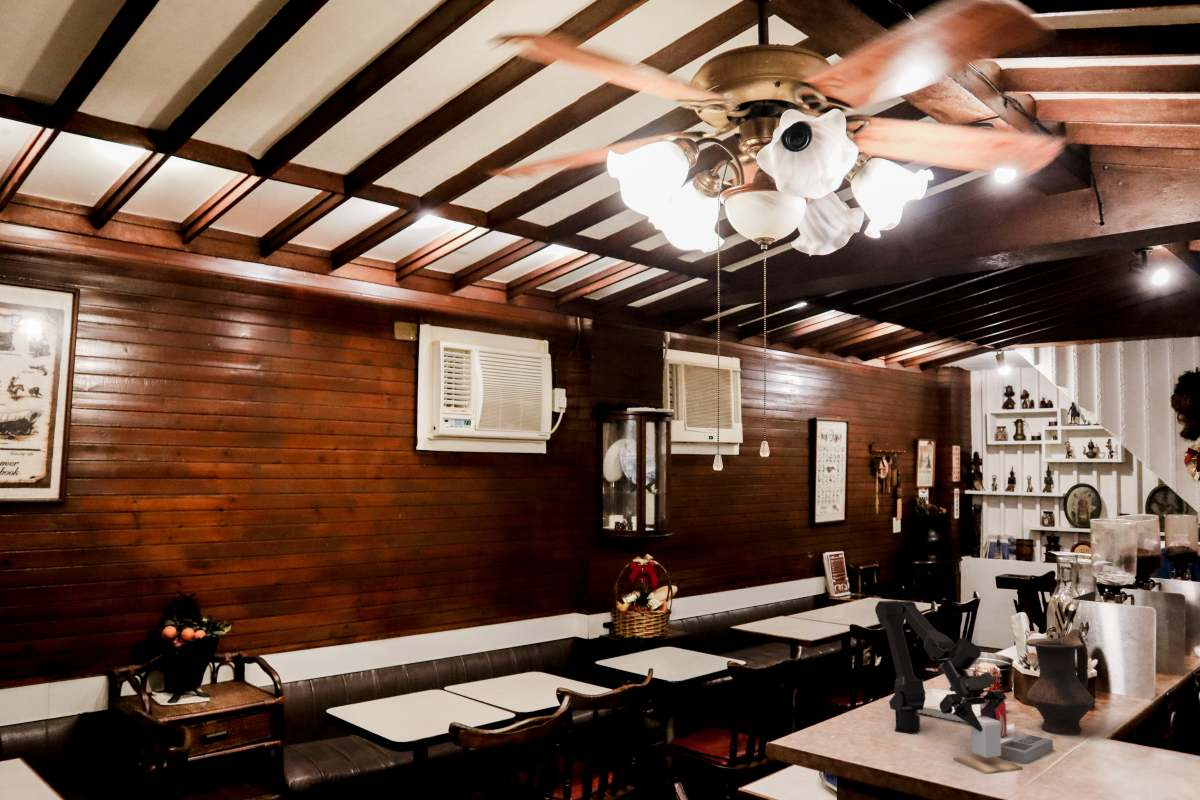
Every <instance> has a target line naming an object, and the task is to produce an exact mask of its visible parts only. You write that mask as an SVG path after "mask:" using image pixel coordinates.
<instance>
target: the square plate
mask: <svg viewBox="0 0 1200 800" xmlns="http://www.w3.org/2000/svg"><path fill="white" fill-rule="evenodd" d="M924 690H925V692H926V694H925V702H924V706H938V707H936V708H940V702H941V701H942V700H943V699H944V698H945V696H946V695H947V694H956V693H955V691H951V690H945V689H939V688H928V689H924ZM931 704H932V705H931ZM934 704H935V705H934ZM1005 704H1006V705H1009V702H1007V701H1005ZM952 709H953V710H952V713H948V714H943V713H942V711H941V709H935V708H929V707H923V710H918V714H920V713H923V714H922V715H924V714H929V715H934V716H938V717H937V718H939V717H942V718H941V719H943V718H946V719H945V720H948V719H951V720H950V721H953V720H955V721H954V722H958V721H961V722H960V723H967V722H966V721H964V720H963V719H961V718H960V717H958V716H954V715H953V713H954V712H955V710H954V707H952ZM972 710H973V712H974V714H975V716H976V717H981V712H980V705H979V704H976V705H972ZM929 715H928V716H929ZM934 716H933V717H934ZM967 724H968V723H967Z"/></svg>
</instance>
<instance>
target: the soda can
mask: <svg viewBox="0 0 1200 800" xmlns="http://www.w3.org/2000/svg"><path fill="white" fill-rule="evenodd" d="M988 692H989V691H984V693H983V694H981V696H985V695H986V694H987V693H988ZM1005 702H1006V699H1005V700H1004V701H1003V702H1002V703H1001V705H1000V706H999V707H998V708H996V709H995V711H996V717H997V720H998V721H1000V738H1003V737H1004V736H1006V735H1007V728H1008V727H1007V726H1008V725H1007V706H1006V704H1005ZM981 710H982V707H981V706H980V711H981ZM981 717H984V716H983V715H982V714H981Z"/></svg>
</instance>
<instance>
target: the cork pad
mask: <svg viewBox="0 0 1200 800" xmlns="http://www.w3.org/2000/svg"><path fill="white" fill-rule="evenodd" d="M953 761H955V762H957V763H959V764H962V765H964V766H967V767H969V768H971V769H973V770H976V771H978V772H980V773H982V774H984V775H988V774H997V773H1004V772H1014V771H1019V770H1020V771H1021V770H1023V767H1022V766H1021V765H1018V764H1015V762H1012V761H1010V760H1006V759H1002V758H999V757H997V756H995V757H987V758H986V757H983V756H981V755H979V754H973V755H964V756H956V757H953Z"/></svg>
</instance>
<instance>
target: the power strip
mask: <svg viewBox="0 0 1200 800" xmlns="http://www.w3.org/2000/svg"><path fill="white" fill-rule="evenodd" d="M1053 745H1054V744H1053V739H1051V738H1046V737H1042V736H1037V735H1033V734H1027V733H1021V734H1020V735H1017V736H1015V737H1012V738H1010V739H1007V740H1006V741H1003V742H1001V756H997V757H999V758H1001V759H1004V760H1006V761H1009V762H1013V763H1019V764H1023V765H1027V764H1030V763H1031V762H1033V761H1035V760H1037V759H1039V758H1041V757H1042V756H1045V755H1048V754H1049V753H1052V752H1053V751H1054V749H1053V748H1054V747H1053Z"/></svg>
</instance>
